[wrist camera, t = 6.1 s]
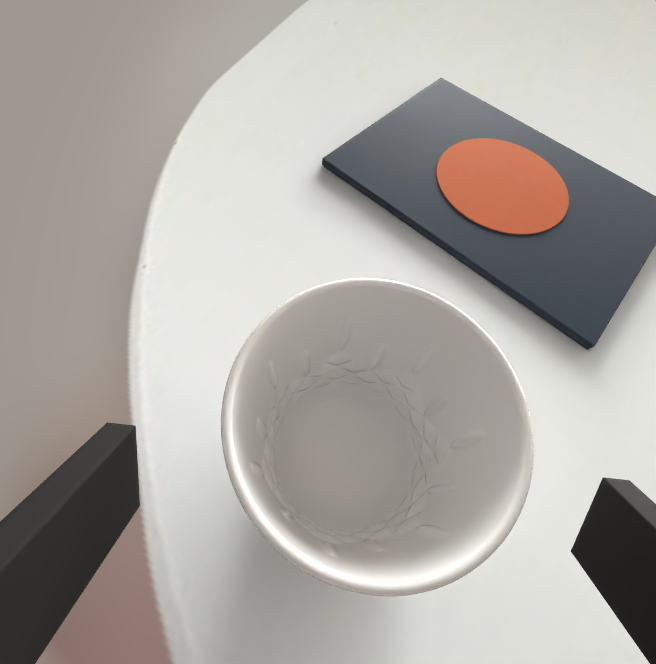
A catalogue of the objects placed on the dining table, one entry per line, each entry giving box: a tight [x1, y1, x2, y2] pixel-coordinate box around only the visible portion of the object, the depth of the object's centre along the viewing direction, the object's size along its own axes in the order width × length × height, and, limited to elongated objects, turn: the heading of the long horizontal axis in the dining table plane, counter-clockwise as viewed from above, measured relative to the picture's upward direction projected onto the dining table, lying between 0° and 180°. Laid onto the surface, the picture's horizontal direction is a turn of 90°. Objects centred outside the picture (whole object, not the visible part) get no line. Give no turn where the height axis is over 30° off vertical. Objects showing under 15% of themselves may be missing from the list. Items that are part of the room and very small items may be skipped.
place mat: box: [322, 78, 656, 349], centre depth 27 cm, size 22×16×1 cm
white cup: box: [221, 278, 534, 596], centre depth 14 cm, size 8×8×10 cm
